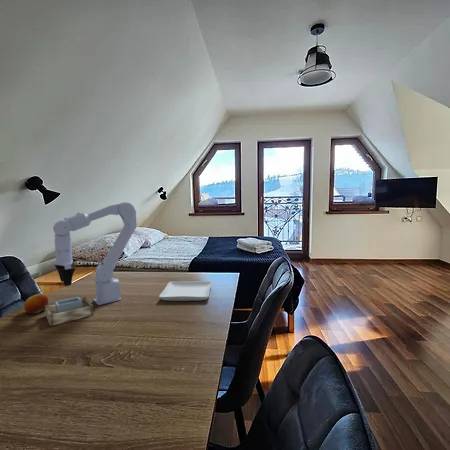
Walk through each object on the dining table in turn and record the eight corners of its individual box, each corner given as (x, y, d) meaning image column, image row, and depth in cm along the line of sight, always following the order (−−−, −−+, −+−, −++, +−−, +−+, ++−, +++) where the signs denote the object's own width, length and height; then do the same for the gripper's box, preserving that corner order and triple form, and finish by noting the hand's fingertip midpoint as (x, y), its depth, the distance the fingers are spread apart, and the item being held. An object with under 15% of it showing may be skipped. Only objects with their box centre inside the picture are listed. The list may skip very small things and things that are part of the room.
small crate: (79, 308, 108) (78, 296, 108) (82, 313, 104) (81, 300, 104) (56, 314, 103) (55, 301, 103) (58, 319, 99) (57, 305, 99)
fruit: (40, 313, 103) (30, 294, 103) (26, 322, 105) (16, 304, 105) (57, 304, 111) (48, 287, 111) (44, 313, 112) (34, 296, 113)
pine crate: (86, 306, 112) (85, 296, 112) (93, 314, 104) (92, 304, 104) (45, 315, 104) (45, 305, 103) (50, 325, 95) (49, 314, 95)
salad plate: (208, 303, 114) (208, 295, 114) (158, 304, 115) (158, 296, 115) (212, 287, 136) (212, 280, 135) (169, 287, 136) (169, 281, 136)
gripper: (49, 249, 113) (51, 281, 114) (54, 254, 102) (57, 289, 103) (68, 247, 117) (70, 278, 119) (76, 251, 106) (78, 285, 108)
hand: (65, 283), depth 111 cm, fingers open, 7 cm apart
